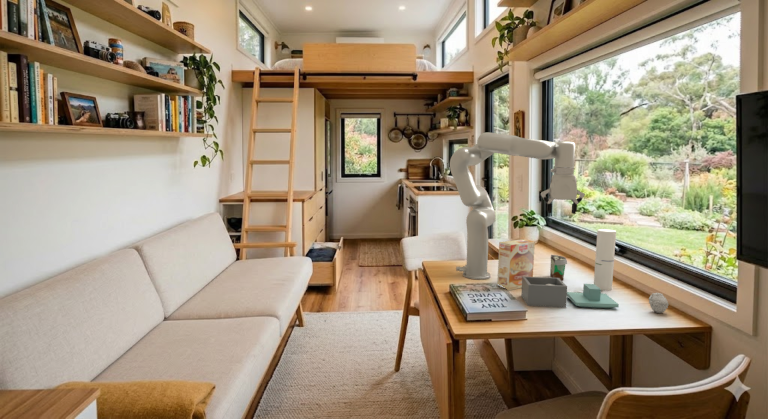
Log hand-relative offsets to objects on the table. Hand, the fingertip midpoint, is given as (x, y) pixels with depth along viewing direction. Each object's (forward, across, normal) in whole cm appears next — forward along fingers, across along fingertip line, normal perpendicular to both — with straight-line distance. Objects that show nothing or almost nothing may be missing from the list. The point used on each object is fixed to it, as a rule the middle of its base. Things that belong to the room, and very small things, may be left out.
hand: (561, 213), depth 192 cm
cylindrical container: (+32, +20, +4) cm, 38 cm away
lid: (+32, +8, -18) cm, 38 cm away
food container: (+32, +5, +16) cm, 37 cm away
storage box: (+32, -10, -18) cm, 38 cm away
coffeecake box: (+32, -17, +2) cm, 37 cm away
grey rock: (+32, +29, -25) cm, 50 cm away
